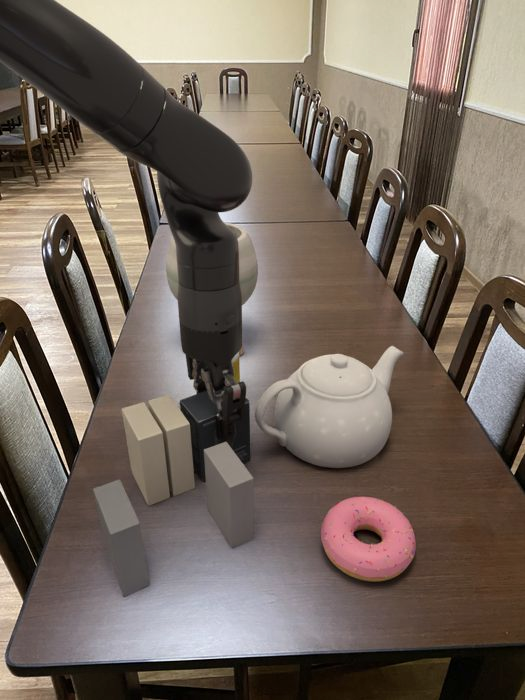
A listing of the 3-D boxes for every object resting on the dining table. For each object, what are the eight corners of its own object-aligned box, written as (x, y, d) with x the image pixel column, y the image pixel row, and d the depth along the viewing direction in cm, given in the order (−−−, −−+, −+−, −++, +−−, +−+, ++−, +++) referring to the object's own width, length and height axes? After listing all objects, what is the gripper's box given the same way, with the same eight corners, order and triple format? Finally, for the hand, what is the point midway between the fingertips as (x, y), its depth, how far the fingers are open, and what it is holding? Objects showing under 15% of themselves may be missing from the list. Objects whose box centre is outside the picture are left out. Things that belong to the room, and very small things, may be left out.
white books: (148, 506, 69) (138, 440, 63) (131, 472, 74) (121, 408, 68) (195, 488, 72) (189, 423, 66) (176, 456, 77) (169, 394, 71)
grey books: (123, 597, 58) (110, 534, 53) (106, 549, 63) (92, 488, 58) (254, 538, 65) (253, 478, 59) (228, 500, 70) (226, 441, 65)
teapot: (283, 390, 91) (285, 318, 84) (394, 408, 87) (406, 334, 80) (253, 464, 75) (252, 385, 68) (386, 490, 71) (400, 409, 64)
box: (231, 439, 80) (229, 380, 75) (251, 461, 76) (251, 401, 70) (183, 458, 76) (178, 398, 71) (202, 483, 72) (198, 421, 67)
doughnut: (315, 581, 60) (317, 556, 58) (323, 506, 69) (325, 482, 67) (416, 596, 58) (422, 572, 56) (410, 518, 67) (415, 494, 65)
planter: (158, 359, 99) (145, 242, 87) (194, 320, 112) (188, 214, 100) (240, 375, 95) (238, 255, 83) (268, 332, 108) (270, 223, 96)
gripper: (159, 297, 68) (170, 404, 77) (206, 348, 57) (212, 466, 66) (213, 285, 71) (218, 389, 80) (267, 332, 60) (265, 446, 69)
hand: (215, 423), depth 73 cm, fingers closed on box, 5 cm apart
